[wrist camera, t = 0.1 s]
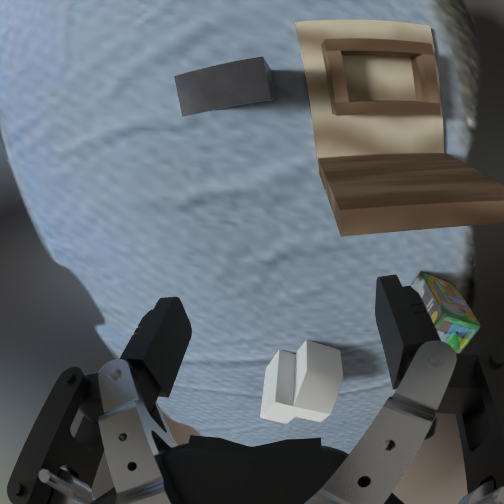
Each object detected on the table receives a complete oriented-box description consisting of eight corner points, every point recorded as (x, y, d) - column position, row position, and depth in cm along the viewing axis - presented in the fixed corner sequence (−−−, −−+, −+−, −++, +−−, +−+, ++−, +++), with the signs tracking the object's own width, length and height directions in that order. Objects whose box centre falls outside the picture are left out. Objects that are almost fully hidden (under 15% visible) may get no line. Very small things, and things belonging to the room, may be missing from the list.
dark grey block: (208, 81, 33) (174, 76, 22) (271, 70, 31) (262, 56, 21) (214, 110, 34) (182, 116, 24) (276, 99, 33) (270, 99, 23)
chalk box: (429, 321, 47) (453, 382, 34) (392, 310, 46) (414, 377, 34) (456, 283, 42) (492, 342, 29) (420, 268, 42) (455, 332, 29)
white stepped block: (266, 368, 57) (259, 417, 47) (290, 334, 52) (287, 388, 41) (311, 381, 58) (311, 428, 48) (340, 349, 52) (345, 401, 42)
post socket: (295, 23, 27) (298, -40, 11) (426, 27, 24) (511, -2, 8) (318, 171, 37) (340, 236, 20) (440, 165, 33) (523, 221, 17)
